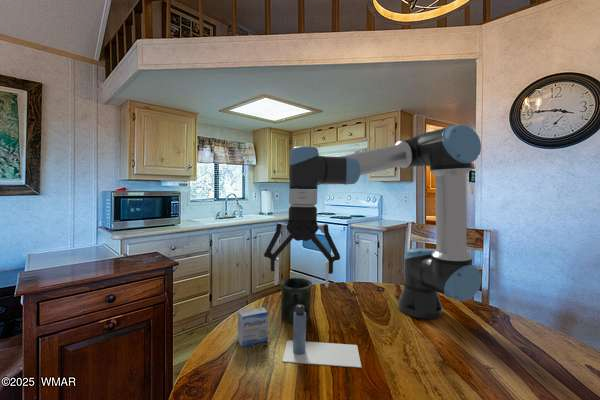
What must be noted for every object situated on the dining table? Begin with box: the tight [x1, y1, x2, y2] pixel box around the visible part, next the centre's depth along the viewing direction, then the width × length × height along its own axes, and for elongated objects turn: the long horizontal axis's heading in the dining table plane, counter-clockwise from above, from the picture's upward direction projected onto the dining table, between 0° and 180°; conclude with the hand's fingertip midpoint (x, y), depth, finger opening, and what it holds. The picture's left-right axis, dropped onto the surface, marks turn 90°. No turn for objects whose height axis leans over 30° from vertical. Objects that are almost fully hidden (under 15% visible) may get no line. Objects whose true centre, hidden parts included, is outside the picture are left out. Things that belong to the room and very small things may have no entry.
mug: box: [280, 277, 313, 324], centre depth 96 cm, size 11×15×12 cm
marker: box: [292, 305, 307, 355], centre depth 77 cm, size 3×3×12 cm
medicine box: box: [237, 306, 269, 348], centre depth 82 cm, size 8×4×9 cm, turn 117°
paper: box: [282, 339, 363, 369], centre depth 77 cm, size 20×10×1 cm, turn 85°
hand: (301, 284), depth 76 cm, fingers open, 13 cm apart
